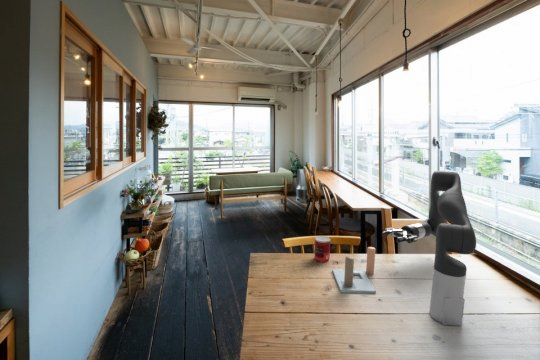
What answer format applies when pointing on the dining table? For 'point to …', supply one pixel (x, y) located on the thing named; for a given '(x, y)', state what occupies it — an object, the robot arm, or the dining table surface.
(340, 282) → the board
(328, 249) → the canned food
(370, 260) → the wooden peg
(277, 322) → the dining table surface
